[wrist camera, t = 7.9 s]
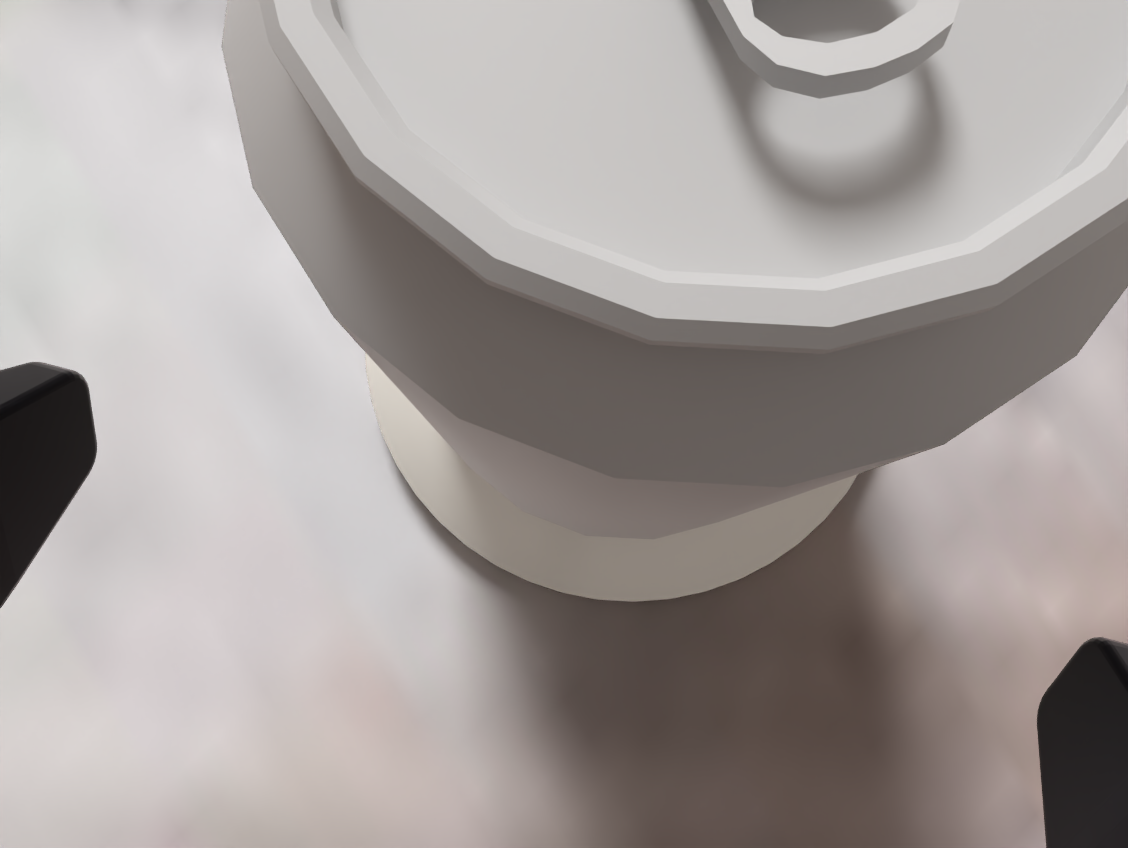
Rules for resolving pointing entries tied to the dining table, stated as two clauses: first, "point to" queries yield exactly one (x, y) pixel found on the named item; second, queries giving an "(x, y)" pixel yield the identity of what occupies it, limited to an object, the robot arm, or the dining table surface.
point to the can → (694, 225)
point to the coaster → (573, 556)
